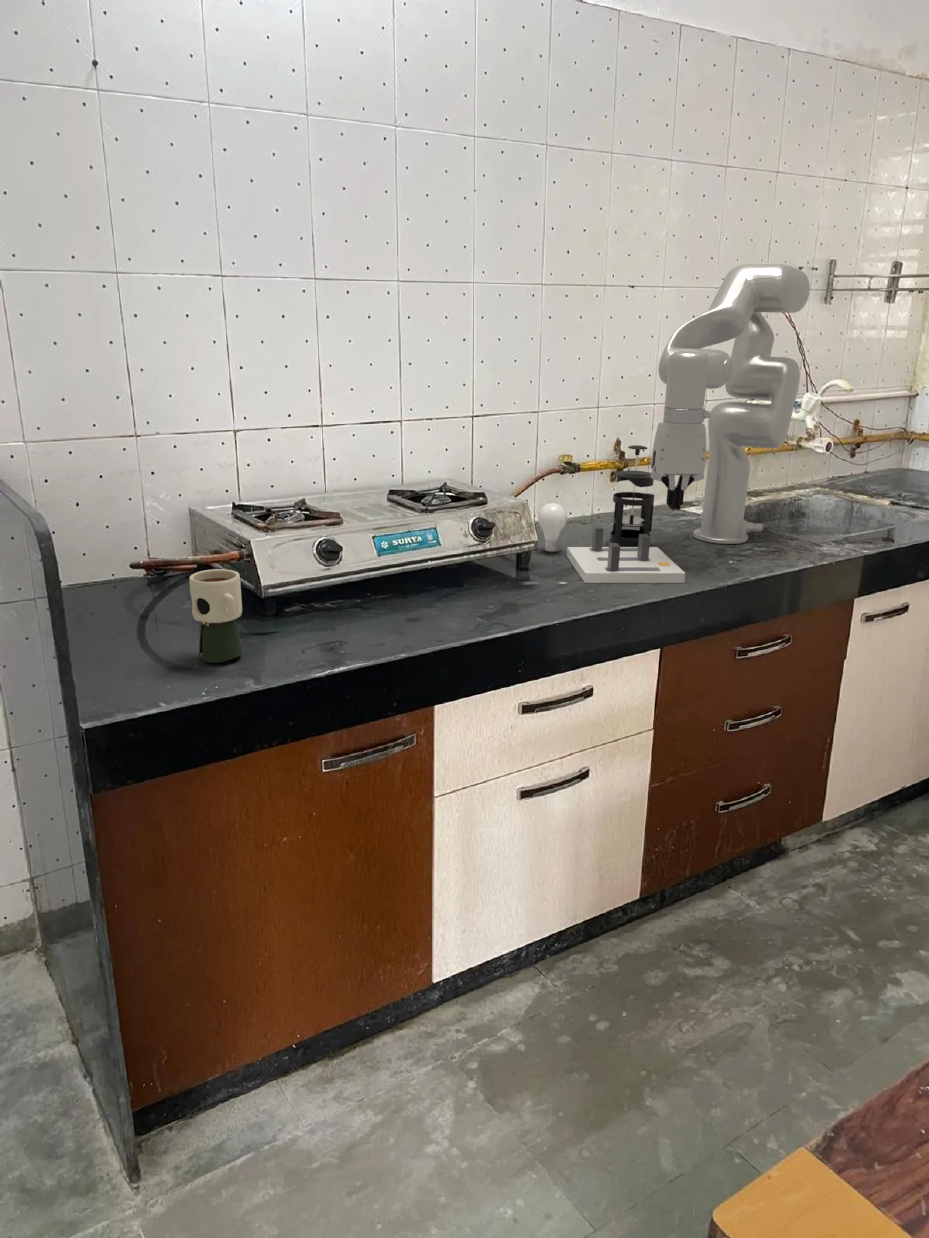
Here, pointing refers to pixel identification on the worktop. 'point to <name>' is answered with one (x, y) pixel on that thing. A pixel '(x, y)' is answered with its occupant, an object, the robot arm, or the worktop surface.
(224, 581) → the character mug
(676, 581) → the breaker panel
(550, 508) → the lightbulb
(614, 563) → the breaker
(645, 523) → the french press
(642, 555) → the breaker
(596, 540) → the breaker
